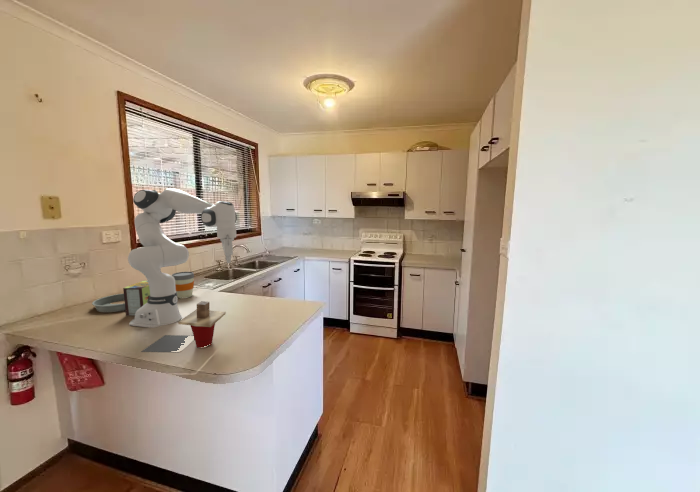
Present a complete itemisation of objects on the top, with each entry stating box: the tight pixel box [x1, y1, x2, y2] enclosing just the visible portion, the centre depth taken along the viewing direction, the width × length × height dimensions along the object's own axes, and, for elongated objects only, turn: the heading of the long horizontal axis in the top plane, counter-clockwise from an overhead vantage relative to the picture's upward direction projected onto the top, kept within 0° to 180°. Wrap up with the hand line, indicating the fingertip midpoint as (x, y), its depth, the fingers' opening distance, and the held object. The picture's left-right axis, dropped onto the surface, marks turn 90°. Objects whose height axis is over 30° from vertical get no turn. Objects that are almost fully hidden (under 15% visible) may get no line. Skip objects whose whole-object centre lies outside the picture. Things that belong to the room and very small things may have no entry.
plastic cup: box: [189, 323, 216, 348], centre depth 121 cm, size 11×11×12 cm
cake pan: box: [91, 292, 126, 313], centre depth 169 cm, size 25×25×4 cm
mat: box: [140, 334, 189, 353], centre depth 123 cm, size 16×15×1 cm
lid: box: [177, 300, 227, 327], centre depth 120 cm, size 13×13×7 cm
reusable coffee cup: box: [171, 271, 195, 299], centre depth 186 cm, size 13×13×15 cm
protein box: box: [122, 280, 150, 317], centre depth 160 cm, size 10×15×16 cm
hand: (228, 261), depth 145 cm, fingers open, 8 cm apart
